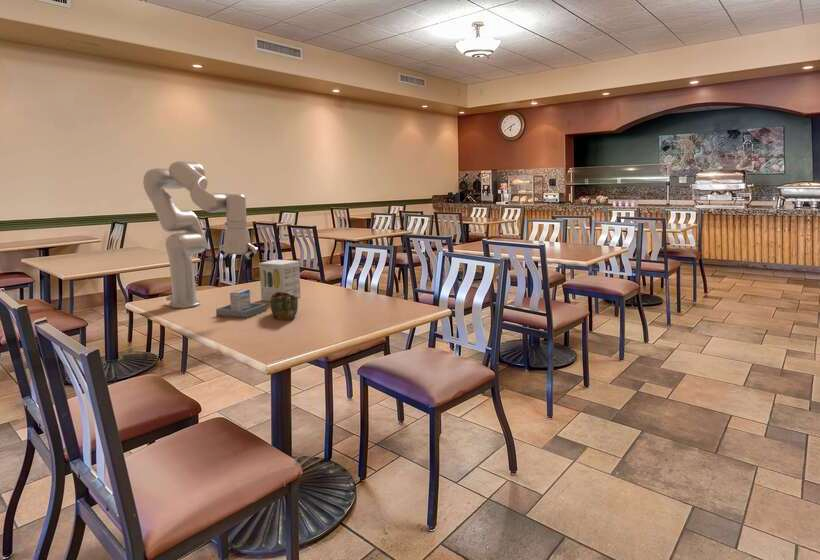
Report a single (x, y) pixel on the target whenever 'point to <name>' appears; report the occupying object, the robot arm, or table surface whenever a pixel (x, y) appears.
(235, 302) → the medicine box
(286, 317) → the cup
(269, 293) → the supplement box
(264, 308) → the tray
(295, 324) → the table surface
